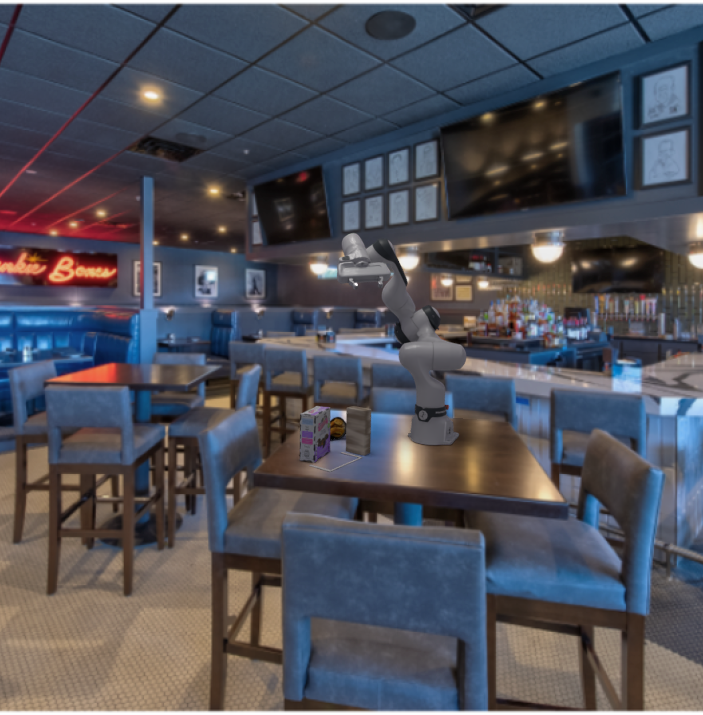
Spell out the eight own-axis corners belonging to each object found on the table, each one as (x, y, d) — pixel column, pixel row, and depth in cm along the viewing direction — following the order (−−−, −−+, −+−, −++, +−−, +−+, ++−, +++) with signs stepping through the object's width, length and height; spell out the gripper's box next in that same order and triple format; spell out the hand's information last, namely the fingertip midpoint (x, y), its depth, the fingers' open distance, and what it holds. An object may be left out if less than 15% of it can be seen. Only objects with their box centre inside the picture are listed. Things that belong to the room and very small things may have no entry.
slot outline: (342, 452, 167) (342, 451, 167) (362, 457, 162) (362, 457, 162) (308, 465, 153) (308, 465, 153) (329, 472, 148) (329, 471, 148)
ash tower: (352, 448, 172) (353, 406, 170) (370, 452, 168) (371, 409, 166) (345, 451, 169) (346, 407, 167) (363, 455, 164) (364, 411, 163)
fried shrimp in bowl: (357, 426, 186) (331, 420, 172) (343, 449, 187) (316, 445, 173) (342, 414, 191) (315, 407, 177) (329, 436, 192) (301, 431, 178)
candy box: (314, 463, 156) (315, 415, 154) (298, 461, 158) (299, 413, 156) (330, 451, 169) (331, 406, 167) (315, 449, 171) (316, 405, 169)
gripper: (383, 268, 184) (393, 292, 175) (333, 271, 179) (340, 295, 170) (386, 255, 179) (397, 279, 170) (334, 258, 174) (342, 282, 166)
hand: (368, 287), depth 170 cm, fingers open, 8 cm apart
